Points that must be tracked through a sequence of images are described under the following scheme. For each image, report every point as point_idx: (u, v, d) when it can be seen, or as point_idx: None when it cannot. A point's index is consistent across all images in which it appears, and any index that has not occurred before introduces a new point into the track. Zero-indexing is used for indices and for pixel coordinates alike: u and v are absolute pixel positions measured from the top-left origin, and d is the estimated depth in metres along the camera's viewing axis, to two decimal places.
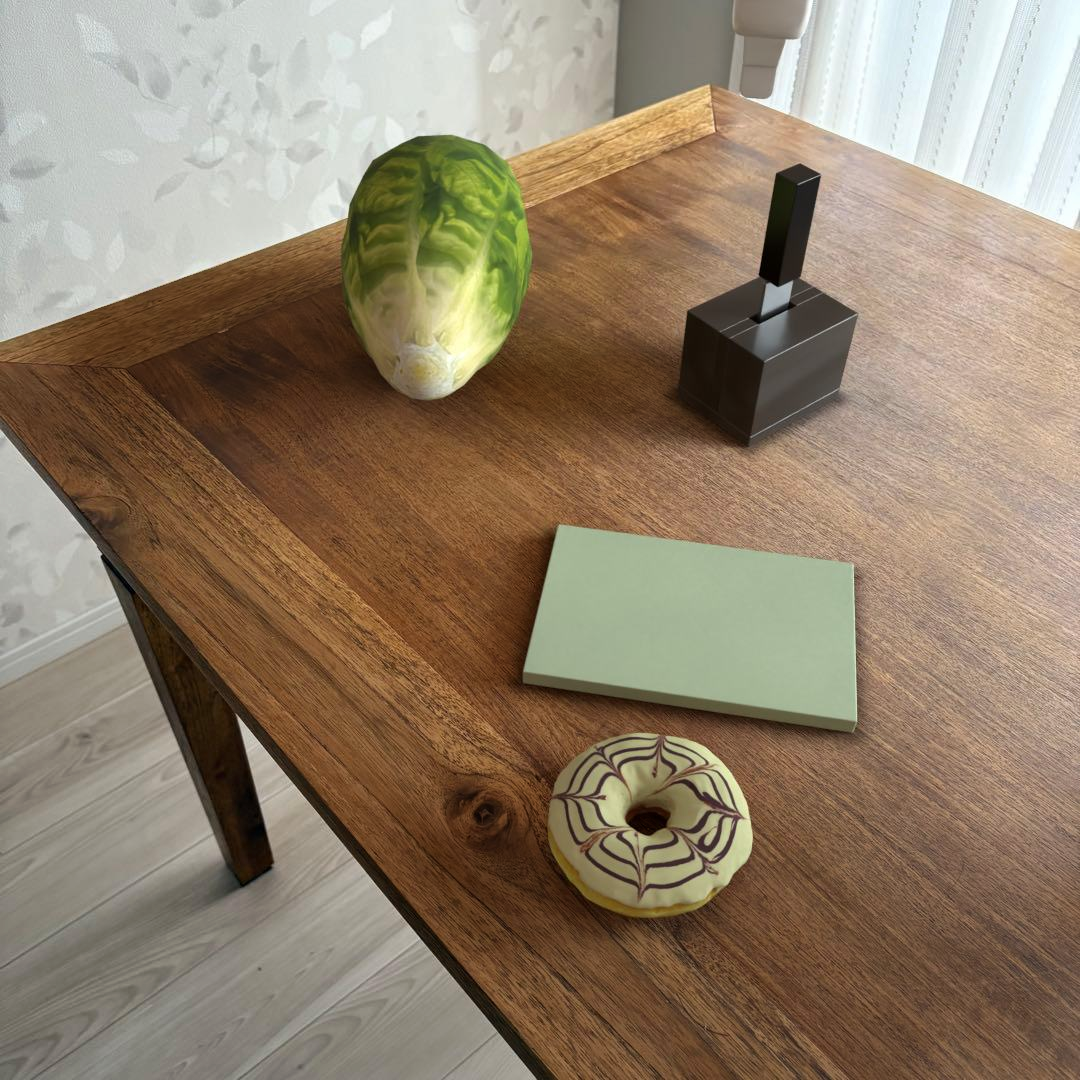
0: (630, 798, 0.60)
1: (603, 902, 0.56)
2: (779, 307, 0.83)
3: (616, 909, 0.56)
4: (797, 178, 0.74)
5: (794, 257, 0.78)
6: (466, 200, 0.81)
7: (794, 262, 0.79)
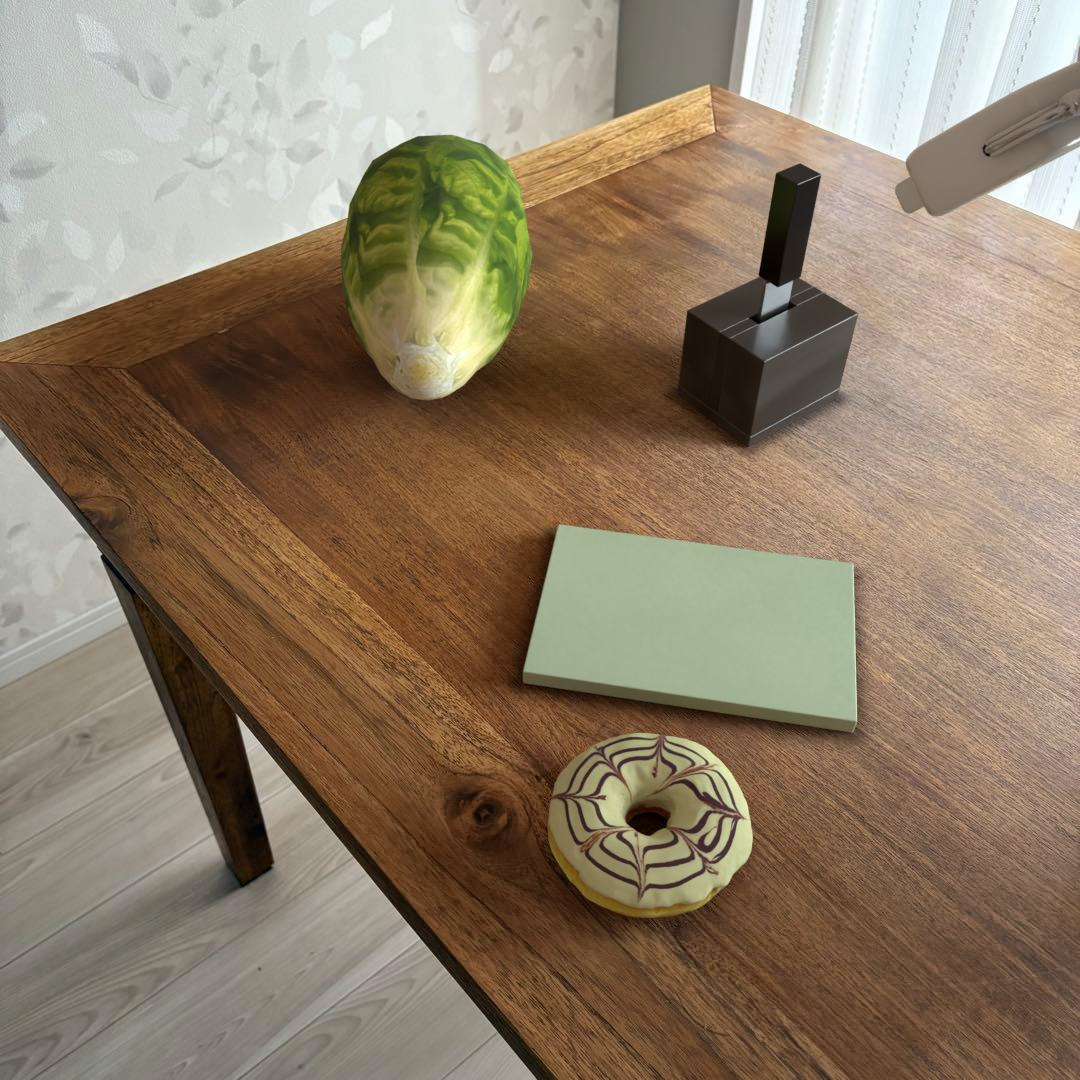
0: (630, 798, 0.60)
1: (603, 902, 0.56)
2: (779, 307, 0.83)
3: (616, 909, 0.56)
4: (797, 178, 0.74)
5: (794, 257, 0.78)
6: (466, 200, 0.81)
7: (794, 262, 0.79)
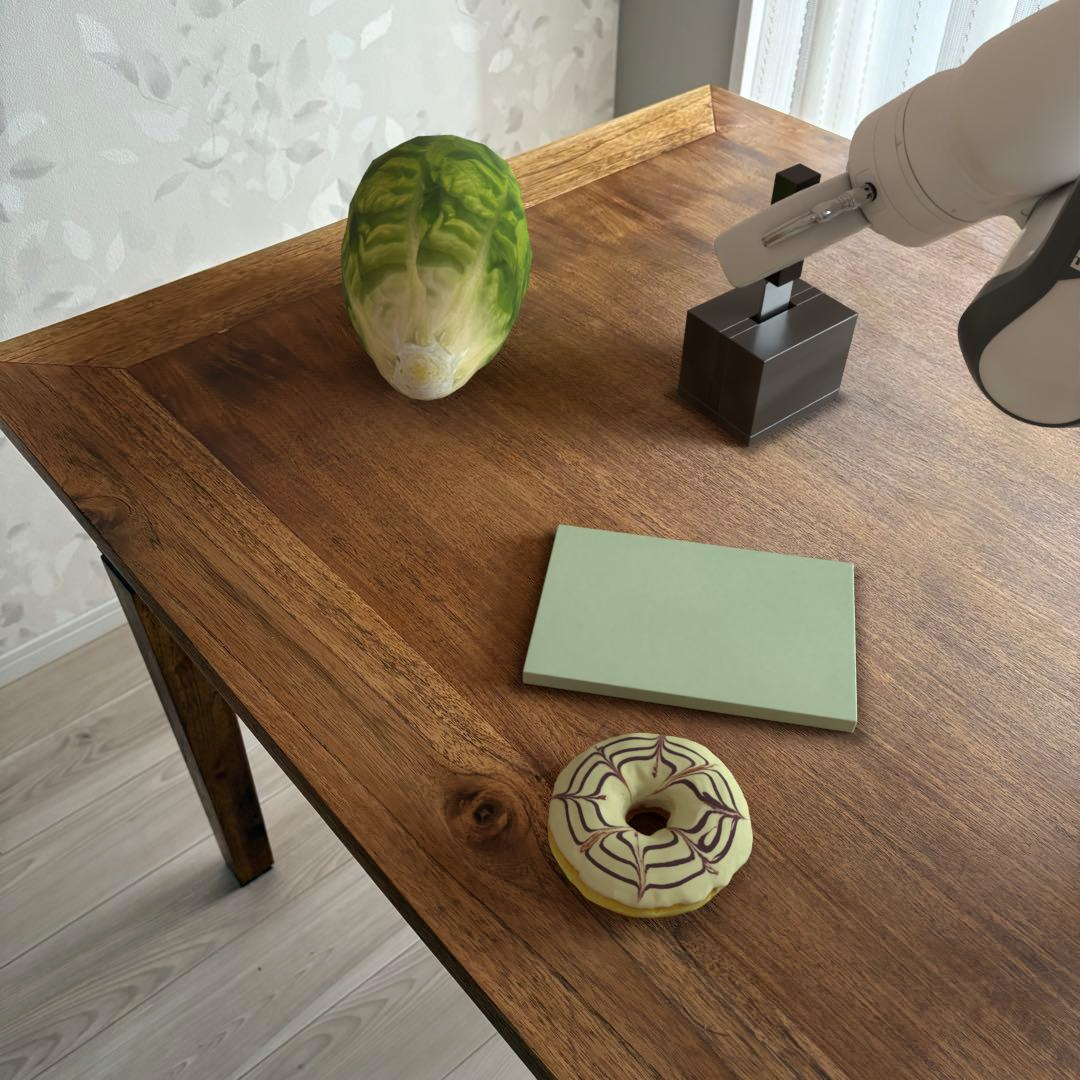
0: (630, 798, 0.60)
1: (603, 902, 0.56)
2: (779, 307, 0.83)
3: (616, 909, 0.56)
4: (797, 178, 0.74)
5: None
6: (466, 200, 0.81)
7: None
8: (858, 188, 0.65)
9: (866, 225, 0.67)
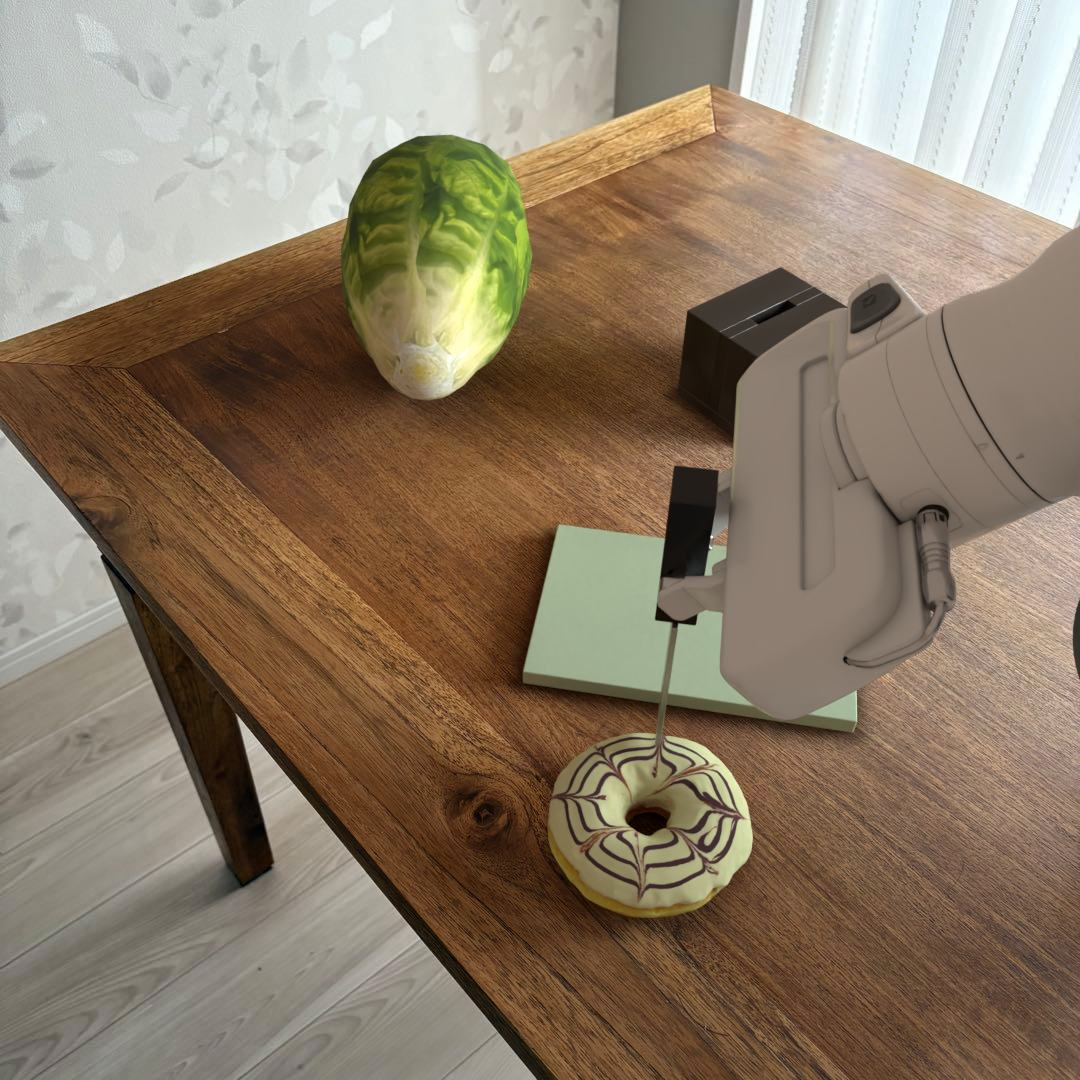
0: (630, 798, 0.60)
1: (603, 902, 0.56)
2: None
3: (616, 909, 0.56)
4: (704, 495, 0.48)
5: None
6: (466, 200, 0.81)
7: None
8: (936, 524, 0.41)
9: None
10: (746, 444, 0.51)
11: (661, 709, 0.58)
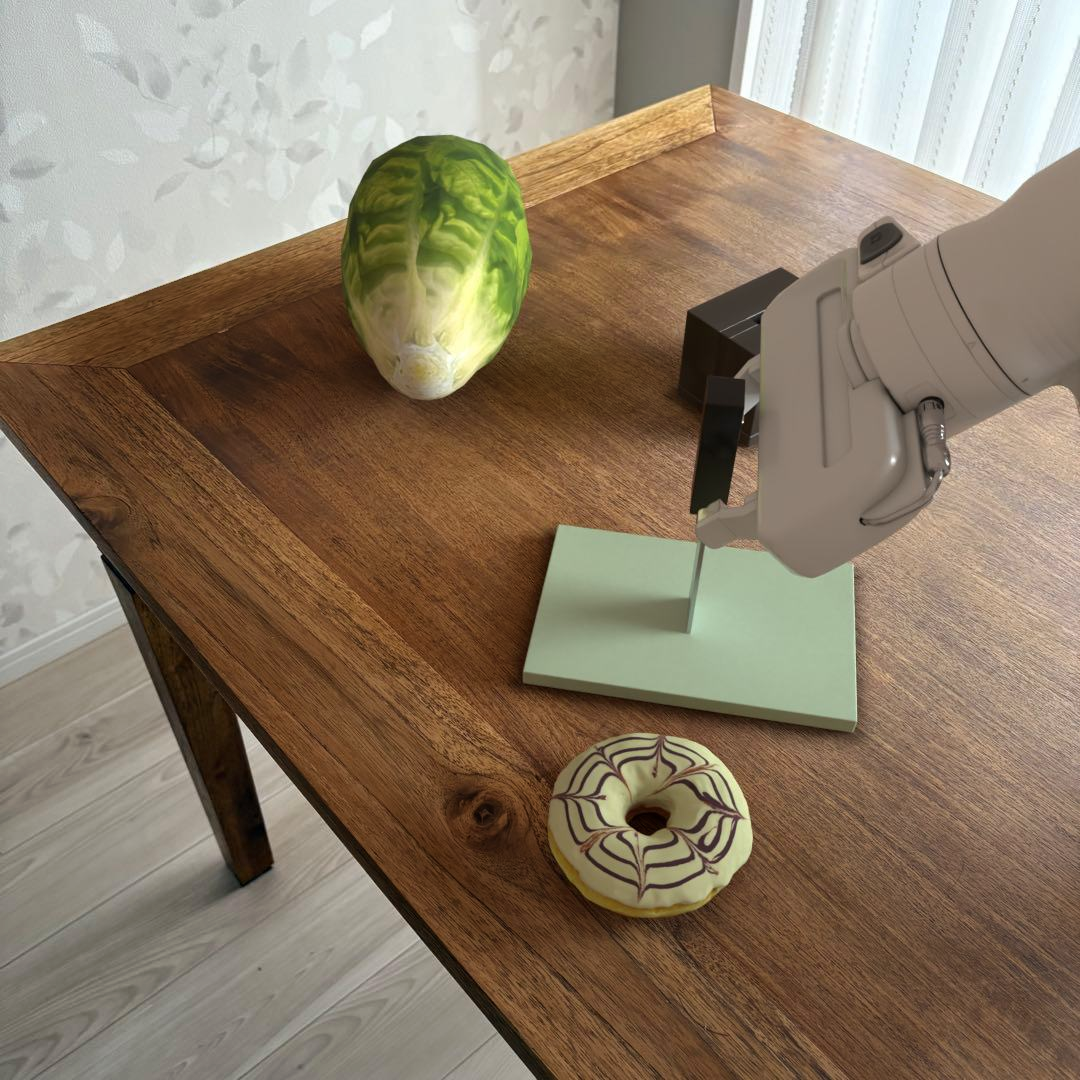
0: (630, 798, 0.60)
1: (603, 902, 0.56)
2: None
3: (616, 909, 0.56)
4: (734, 398, 0.57)
5: None
6: (466, 199, 0.81)
7: None
8: (934, 410, 0.50)
9: None
10: (772, 363, 0.60)
11: (693, 597, 0.67)
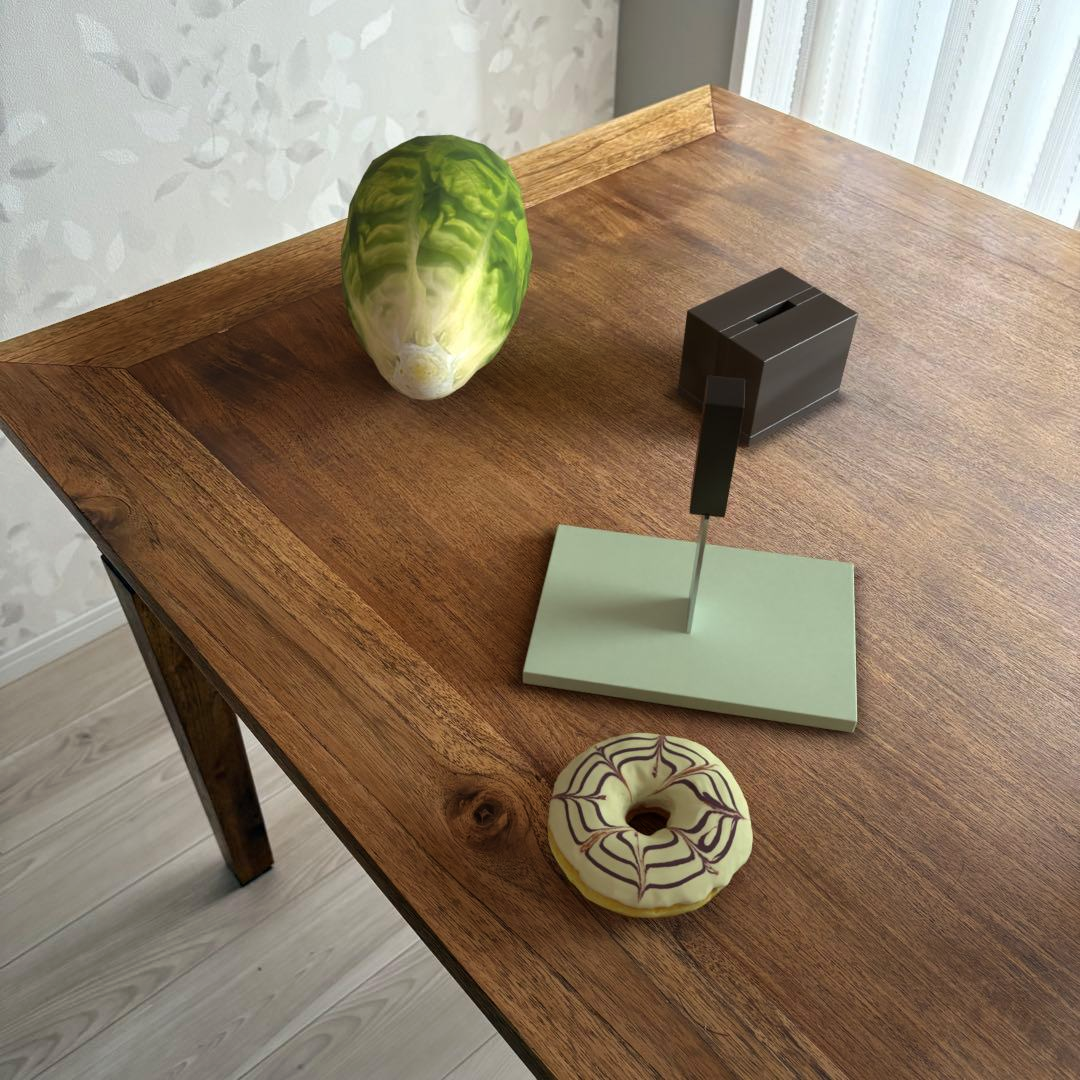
0: (630, 798, 0.60)
1: (603, 902, 0.56)
2: None
3: (616, 909, 0.56)
4: (734, 398, 0.57)
5: None
6: (466, 200, 0.81)
7: None
8: None
9: None
10: None
11: (692, 597, 0.67)
